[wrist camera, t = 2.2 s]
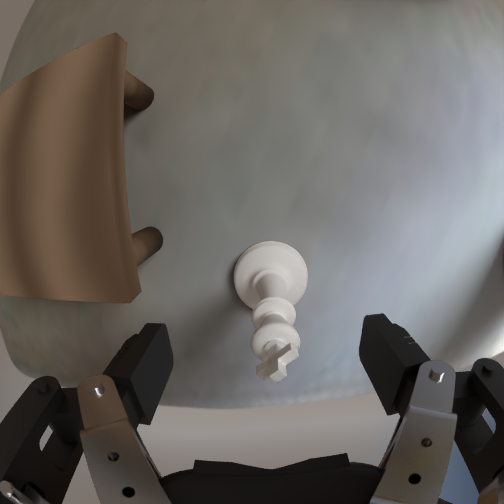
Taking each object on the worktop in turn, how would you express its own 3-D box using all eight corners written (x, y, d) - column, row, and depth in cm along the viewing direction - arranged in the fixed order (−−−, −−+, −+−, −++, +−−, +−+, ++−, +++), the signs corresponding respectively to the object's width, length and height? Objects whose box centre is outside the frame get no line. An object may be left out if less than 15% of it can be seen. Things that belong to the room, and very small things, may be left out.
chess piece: (321, 277, 18) (371, 371, 9) (268, 322, 19) (271, 433, 10) (272, 225, 17) (285, 283, 8) (218, 275, 18) (178, 370, 9)
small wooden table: (162, 74, 15) (115, 32, 8) (173, 259, 18) (129, 303, 12) (32, 121, 16) (-25, 114, 9) (44, 264, 19) (-9, 293, 12)
